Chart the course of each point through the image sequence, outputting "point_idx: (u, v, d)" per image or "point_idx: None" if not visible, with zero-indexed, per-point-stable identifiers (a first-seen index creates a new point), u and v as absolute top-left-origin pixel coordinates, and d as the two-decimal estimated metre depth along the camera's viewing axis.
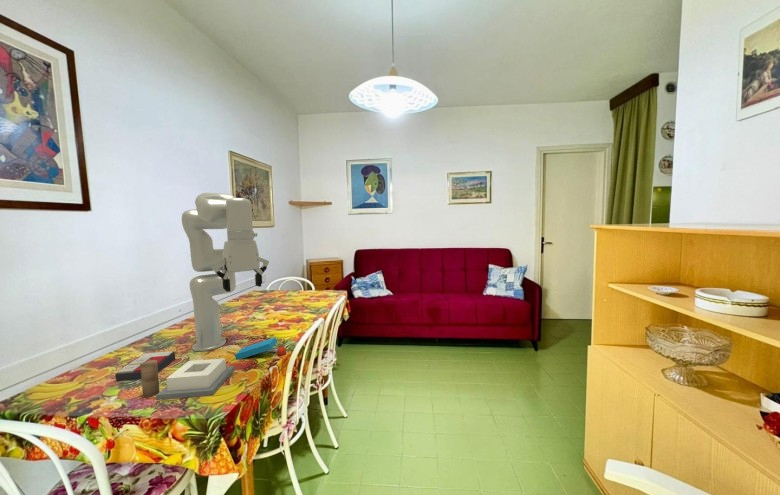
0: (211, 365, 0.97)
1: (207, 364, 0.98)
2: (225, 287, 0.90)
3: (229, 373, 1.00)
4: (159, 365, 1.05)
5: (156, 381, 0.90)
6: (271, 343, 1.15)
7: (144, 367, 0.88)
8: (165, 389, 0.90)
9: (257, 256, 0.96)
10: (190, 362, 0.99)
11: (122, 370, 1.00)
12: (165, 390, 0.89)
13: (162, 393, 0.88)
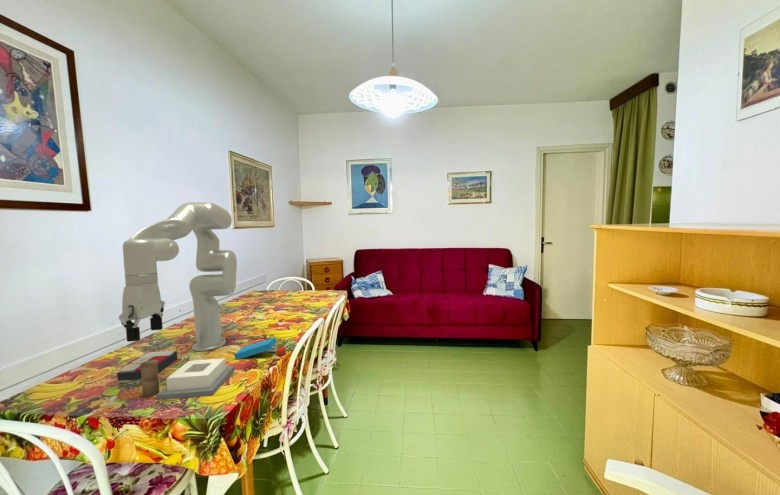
0: (211, 365, 0.97)
1: (207, 364, 0.98)
2: (134, 336, 0.83)
3: (229, 373, 1.00)
4: (160, 365, 1.05)
5: (156, 381, 0.90)
6: (270, 343, 1.15)
7: (144, 367, 0.88)
8: (165, 389, 0.90)
9: (160, 298, 0.93)
10: (190, 362, 0.99)
11: (124, 369, 1.00)
12: (165, 390, 0.89)
13: (162, 393, 0.88)
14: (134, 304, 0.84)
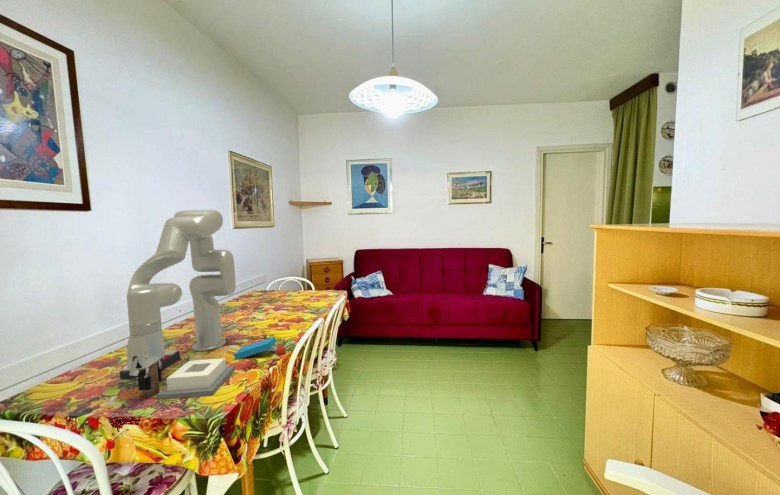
0: (211, 365, 0.97)
1: (207, 364, 0.98)
2: (145, 386, 0.87)
3: (229, 373, 1.00)
4: (162, 364, 1.06)
5: (156, 381, 0.90)
6: (270, 342, 1.16)
7: None
8: (165, 389, 0.90)
9: (164, 343, 0.94)
10: (190, 362, 0.99)
11: (126, 368, 1.01)
12: (165, 390, 0.89)
13: (162, 393, 0.88)
14: (139, 355, 0.85)
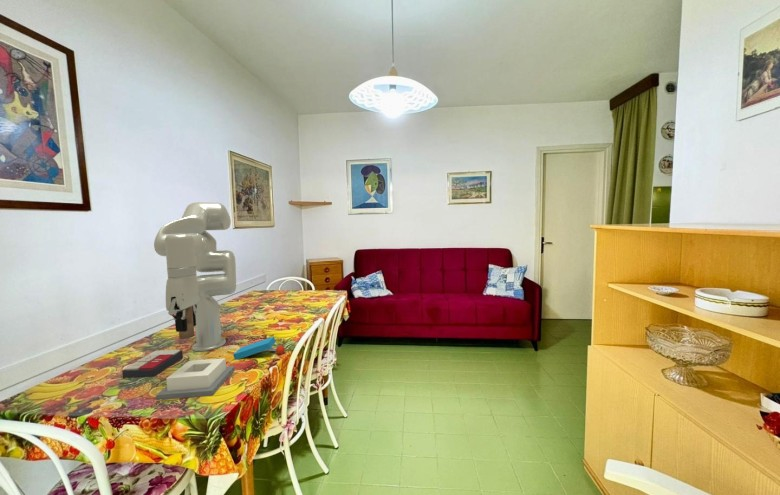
0: (211, 365, 0.97)
1: (207, 364, 0.98)
2: (182, 327, 0.90)
3: (229, 373, 1.00)
4: (164, 364, 1.06)
5: (191, 324, 0.93)
6: (270, 342, 1.16)
7: None
8: (165, 389, 0.90)
9: (198, 290, 0.97)
10: (190, 362, 0.99)
11: (129, 367, 1.02)
12: (165, 390, 0.89)
13: (162, 393, 0.88)
14: (176, 295, 0.88)
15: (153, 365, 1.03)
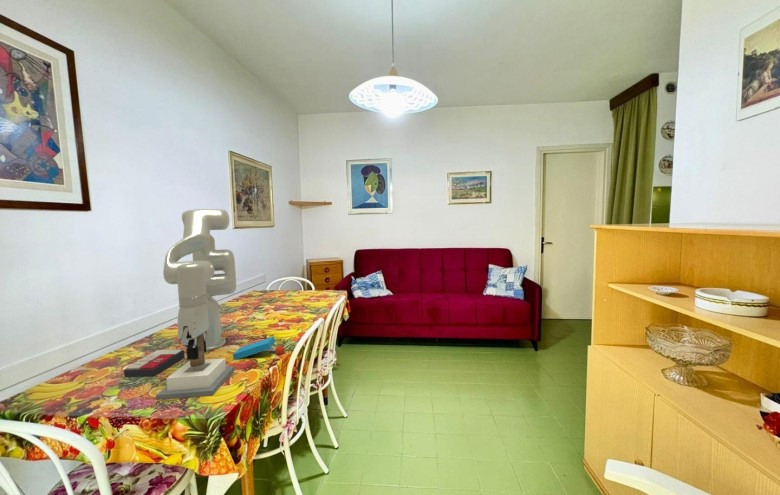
0: (211, 365, 0.97)
1: (207, 364, 0.98)
2: (193, 355, 0.92)
3: (229, 373, 1.00)
4: (165, 363, 1.06)
5: (202, 352, 0.95)
6: (269, 342, 1.16)
7: None
8: (165, 389, 0.90)
9: (208, 317, 0.99)
10: None
11: (130, 366, 1.02)
12: (165, 390, 0.89)
13: (162, 393, 0.88)
14: (189, 325, 0.89)
15: (154, 365, 1.03)
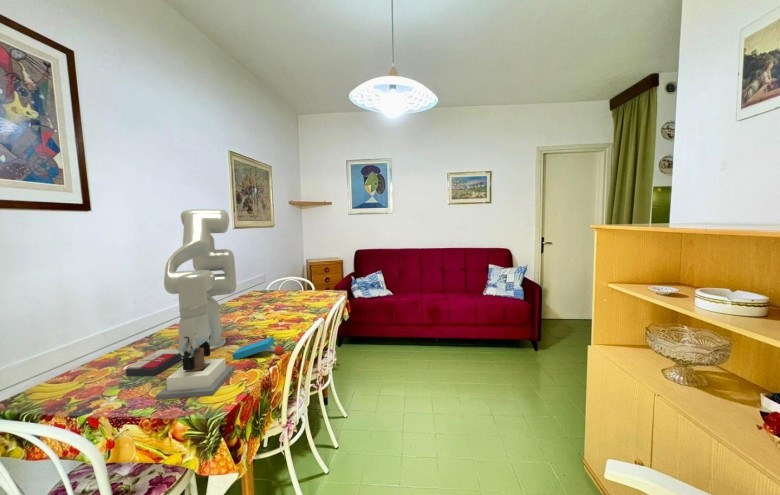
0: (211, 365, 0.97)
1: (207, 364, 0.98)
2: (190, 366, 0.90)
3: (229, 373, 1.00)
4: (166, 363, 1.06)
5: (203, 367, 0.95)
6: (269, 343, 1.16)
7: (193, 353, 0.93)
8: (165, 389, 0.90)
9: (208, 326, 0.99)
10: None
11: (132, 366, 1.03)
12: (165, 390, 0.89)
13: (162, 393, 0.88)
14: (189, 335, 0.90)
15: (155, 364, 1.03)
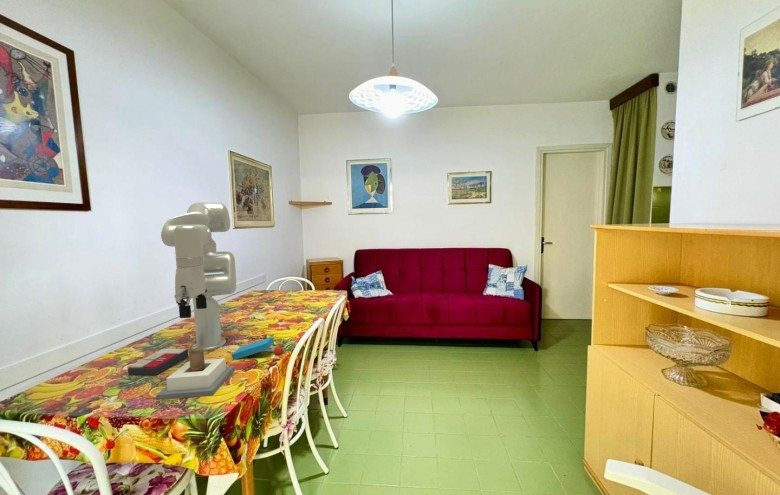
0: (211, 365, 0.97)
1: (207, 364, 0.98)
2: (186, 314, 0.92)
3: (229, 373, 1.00)
4: (167, 363, 1.07)
5: (203, 367, 0.95)
6: (268, 343, 1.15)
7: (193, 353, 0.93)
8: (165, 389, 0.90)
9: (205, 279, 1.01)
10: None
11: (134, 365, 1.04)
12: (165, 390, 0.89)
13: (162, 393, 0.88)
14: (186, 284, 0.92)
15: (156, 364, 1.04)
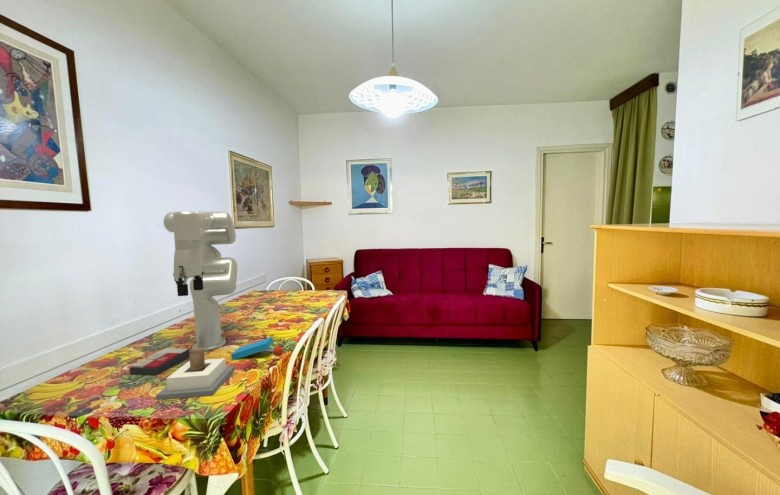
0: (211, 365, 0.97)
1: (207, 364, 0.98)
2: (183, 292, 0.99)
3: (229, 373, 1.00)
4: (168, 362, 1.07)
5: (203, 367, 0.95)
6: (267, 343, 1.15)
7: (193, 353, 0.93)
8: (165, 389, 0.90)
9: (201, 262, 1.09)
10: None
11: (136, 364, 1.04)
12: (165, 390, 0.89)
13: (162, 393, 0.88)
14: (183, 265, 1.00)
15: (157, 364, 1.04)
